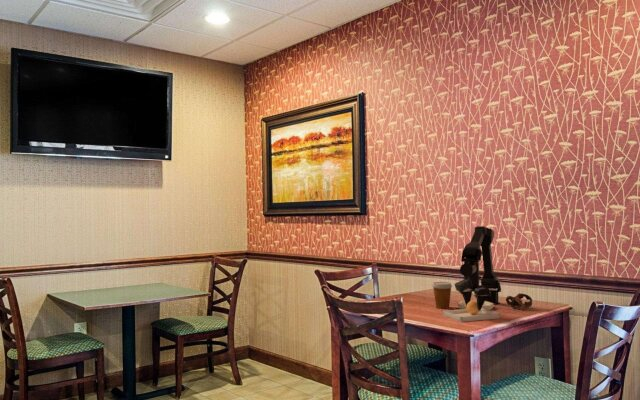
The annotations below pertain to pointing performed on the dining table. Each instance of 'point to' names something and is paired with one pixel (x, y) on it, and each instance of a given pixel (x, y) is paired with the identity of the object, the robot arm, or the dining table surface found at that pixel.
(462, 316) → the tray
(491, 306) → the bowl
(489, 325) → the dining table surface
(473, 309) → the ball
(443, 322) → the dining table surface
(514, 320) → the dining table surface
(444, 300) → the disposable coffee cup
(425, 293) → the dining table surface
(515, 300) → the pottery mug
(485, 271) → the robot arm
